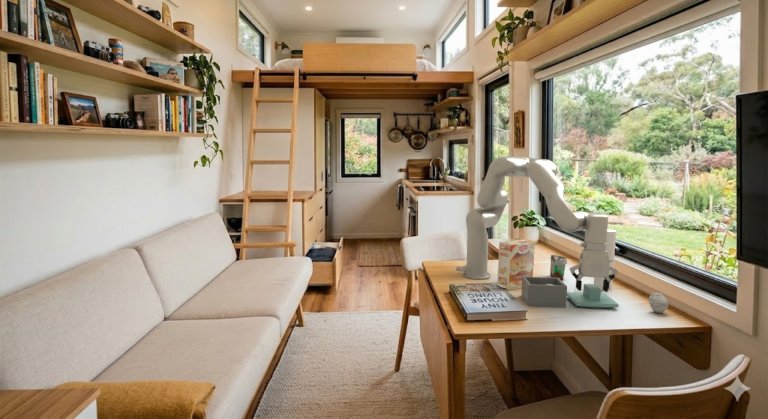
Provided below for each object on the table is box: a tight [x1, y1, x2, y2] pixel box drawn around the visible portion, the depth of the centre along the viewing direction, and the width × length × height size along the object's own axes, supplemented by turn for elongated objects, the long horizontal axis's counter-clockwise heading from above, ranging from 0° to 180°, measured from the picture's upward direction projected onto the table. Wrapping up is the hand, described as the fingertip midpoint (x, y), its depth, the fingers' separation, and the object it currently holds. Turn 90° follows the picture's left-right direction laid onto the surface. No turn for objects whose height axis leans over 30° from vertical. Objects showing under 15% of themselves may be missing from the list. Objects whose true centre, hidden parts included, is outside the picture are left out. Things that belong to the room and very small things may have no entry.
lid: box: [567, 283, 619, 309], centre depth 177 cm, size 15×13×7 cm
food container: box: [549, 254, 568, 282], centre depth 210 cm, size 12×6×10 cm, turn 168°
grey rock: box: [648, 292, 669, 314], centre depth 168 cm, size 6×7×7 cm
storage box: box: [521, 276, 568, 308], centre depth 178 cm, size 14×12×8 cm
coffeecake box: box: [496, 238, 536, 291], centre depth 198 cm, size 15×7×20 cm, turn 122°
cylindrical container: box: [593, 228, 617, 291], centre depth 196 cm, size 7×7×25 cm
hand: (592, 290), depth 177 cm, fingers open, 9 cm apart
